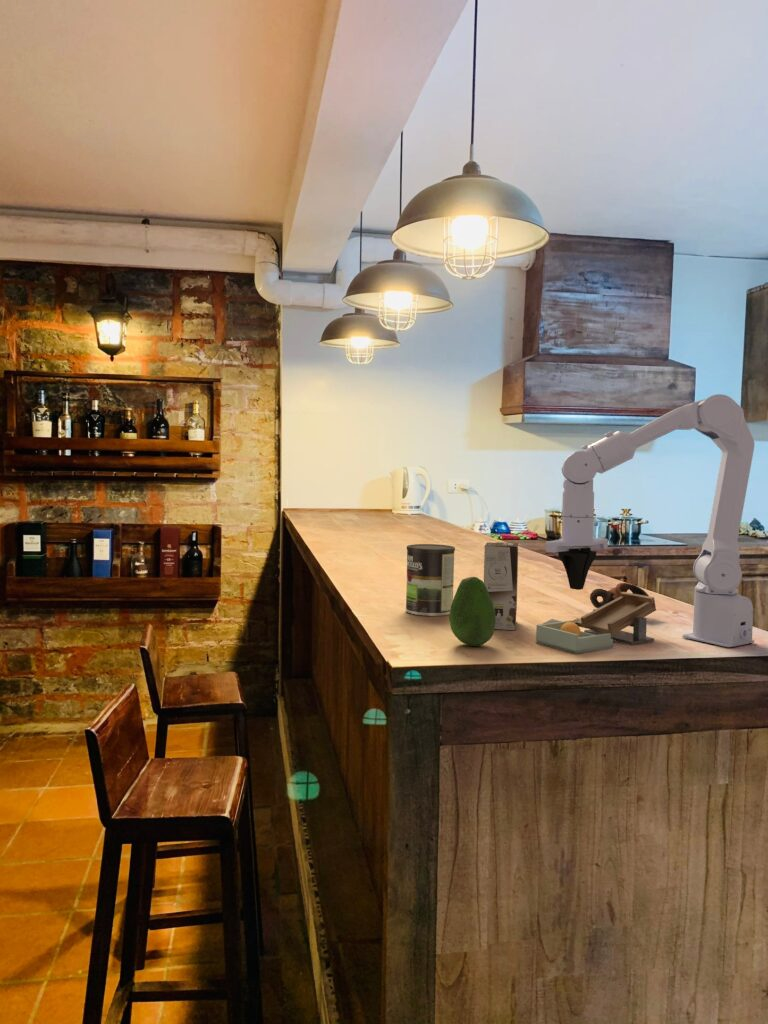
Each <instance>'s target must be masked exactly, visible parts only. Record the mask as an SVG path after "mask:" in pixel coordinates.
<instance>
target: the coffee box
mask: <svg viewBox="0 0 768 1024" xmlns="http://www.w3.org/2000/svg"><path fill="white" fill-rule="evenodd" d="M483 558H484V559H483V561H484V562H483V583H484V584H485V586H486V588H487V590H488V593H489V595H490V597H491V600H492V603H493V606H494V609H495V617H496V624H495V628H494V630H504V631H514V630H516V625H517V624H516V623H517V609H518V606H517V605H518V603H517V602H518V576H519V575H518V573H519V571H518V570H519V567H518V565H519V564H518V563H519V543H518V542H507V541H506V542H504V541H503V542H501V541H499V542H491V541H489V542H486V543H485V545H484V557H483Z"/></svg>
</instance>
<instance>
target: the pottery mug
mask: <svg viewBox="0 0 768 1024" xmlns="http://www.w3.org/2000/svg"><path fill="white" fill-rule="evenodd" d="M628 591H631V592H632V593H633V594H639V595H644V596H650V595H649V594H648V593H647V592H646V591H645V590H644V589H643V588H641V587H639V586H638V585H635V584H631V583H630V582H629V583H628V582H619V583H617V585H616V586H615V587H612V588H610V589H609V590H607V589H603V588H595V589H593V590H592V591H591V593H590V595H589V600H590V602H591V604H592V606H593V607H594V608H596V609H598V608H600V607H601V606H603V605H605V604H607V603H609V602H611V601H613V600H615V599H617V598H618V597H620V596H621V593H622V592H627V593H628ZM598 597H601V599H602V600H601V601H599V600H598Z"/></svg>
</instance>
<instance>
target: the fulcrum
mask: <svg viewBox="0 0 768 1024" xmlns="http://www.w3.org/2000/svg"><path fill="white" fill-rule="evenodd" d="M596 609H597V608H596ZM596 609H595V608H594V609H593V610H592V611H594V610H596ZM647 620H648V619H647V617H644V618H643V617H638V618H634V625H633V627H632V630H633V631H632V632H633V633H632V632H628V631H624V630H620V631H619V632H617V633H615V634H613V635H612V634H611V639H613V642H616V641H617V643H620V642H621V644H624V643H625V645H628V644H629V646H636V644H637V645H642V644H641V643H643V644H648V642H649V643H652V642H653V641H654V642H655V638H654V637H650V636H647V622H648V621H647ZM583 632H586V633H590V634H594V635H599V634H606V633H603V632H599V631H595V630H591V629H585V630H584V631H583ZM654 642H653V643H654Z"/></svg>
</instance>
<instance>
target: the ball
mask: <svg viewBox="0 0 768 1024" xmlns="http://www.w3.org/2000/svg"><path fill="white" fill-rule="evenodd" d="M560 630H562V631H566V632H570V633H574V634H578V638H579V637H580V635H581V627H579V626H578V625H577V624H575V623H572V622H568V623H565V624H564V625H563V626H562V627H561V629H560Z"/></svg>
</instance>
